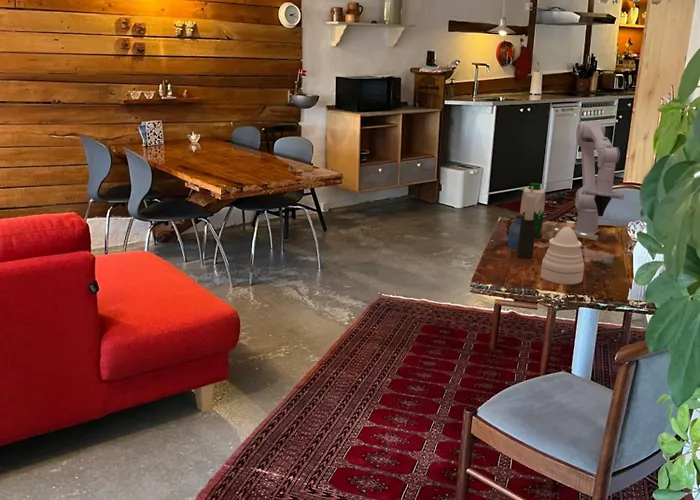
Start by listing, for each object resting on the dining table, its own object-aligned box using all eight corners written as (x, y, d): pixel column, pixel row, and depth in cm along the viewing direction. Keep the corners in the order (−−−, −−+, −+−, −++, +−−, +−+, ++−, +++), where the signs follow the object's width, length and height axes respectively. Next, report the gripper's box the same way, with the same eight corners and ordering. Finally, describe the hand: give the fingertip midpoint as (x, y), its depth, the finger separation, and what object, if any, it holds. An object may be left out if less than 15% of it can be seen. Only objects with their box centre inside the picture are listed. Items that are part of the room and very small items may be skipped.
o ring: (560, 241, 254) (562, 225, 252) (565, 237, 259) (567, 222, 257) (565, 242, 253) (567, 226, 251) (570, 238, 258) (572, 223, 256)
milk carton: (541, 233, 267) (546, 183, 261) (540, 239, 258) (546, 187, 253) (518, 230, 269) (523, 181, 263) (517, 236, 261) (522, 185, 255)
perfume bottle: (524, 244, 250) (527, 213, 247) (527, 249, 245) (530, 217, 241) (507, 243, 251) (510, 212, 247) (509, 248, 245) (513, 216, 242)
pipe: (543, 231, 259) (544, 226, 259) (545, 230, 261) (546, 225, 260) (596, 241, 248) (596, 235, 247) (597, 240, 250) (598, 234, 249)
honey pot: (550, 268, 224) (556, 216, 219) (588, 277, 216) (596, 223, 211) (533, 277, 214) (540, 223, 209) (573, 287, 206) (580, 230, 201)
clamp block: (541, 238, 259) (543, 223, 257) (546, 235, 263) (548, 221, 261) (551, 240, 257) (553, 225, 255) (556, 237, 261) (558, 222, 259)
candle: (532, 259, 233) (540, 188, 226) (517, 257, 234) (525, 187, 227) (531, 254, 238) (539, 185, 231) (517, 253, 239) (524, 184, 232)
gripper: (582, 178, 250) (577, 214, 254) (622, 183, 242) (617, 220, 246) (588, 176, 255) (583, 211, 259) (627, 181, 247) (622, 217, 251)
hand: (600, 215), depth 253 cm, fingers closed
